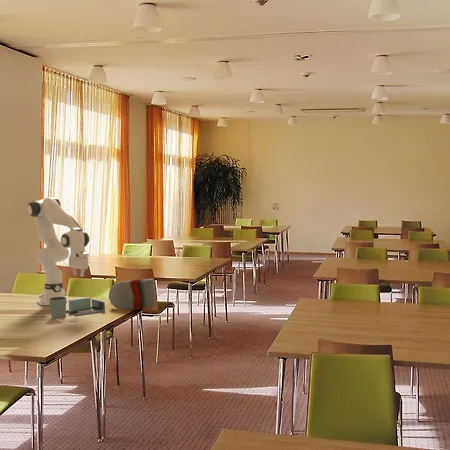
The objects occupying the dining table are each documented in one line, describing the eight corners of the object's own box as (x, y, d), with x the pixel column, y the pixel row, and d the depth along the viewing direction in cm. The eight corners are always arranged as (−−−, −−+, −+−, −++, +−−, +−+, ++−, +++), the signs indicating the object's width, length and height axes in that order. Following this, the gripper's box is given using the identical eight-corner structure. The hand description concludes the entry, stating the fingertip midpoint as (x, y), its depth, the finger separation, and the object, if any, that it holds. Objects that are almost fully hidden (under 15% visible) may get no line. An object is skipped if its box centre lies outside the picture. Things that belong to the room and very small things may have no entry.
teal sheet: (69, 314, 413) (68, 299, 412) (89, 311, 421) (88, 297, 421) (70, 314, 411) (70, 300, 410) (90, 311, 420) (90, 297, 419)
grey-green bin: (70, 316, 404) (69, 297, 403) (59, 319, 395) (58, 300, 394) (57, 315, 409) (57, 296, 408) (46, 318, 400) (45, 298, 399)
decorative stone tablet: (154, 277, 425) (109, 281, 428) (152, 278, 418) (106, 283, 422) (157, 306, 426) (112, 310, 429) (155, 308, 420) (109, 312, 423)
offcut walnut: (77, 313, 410) (76, 311, 410) (92, 311, 415) (92, 309, 414) (78, 314, 406) (78, 312, 406) (94, 312, 411) (94, 310, 411)
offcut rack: (64, 313, 413) (64, 302, 412) (93, 309, 426) (93, 298, 425) (75, 317, 401) (75, 306, 401) (105, 312, 414) (104, 301, 414)
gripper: (65, 253, 420) (66, 274, 420) (80, 255, 404) (81, 277, 405) (74, 252, 424) (75, 273, 424) (90, 254, 408) (90, 276, 409)
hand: (78, 275), depth 414 cm, fingers open, 8 cm apart
